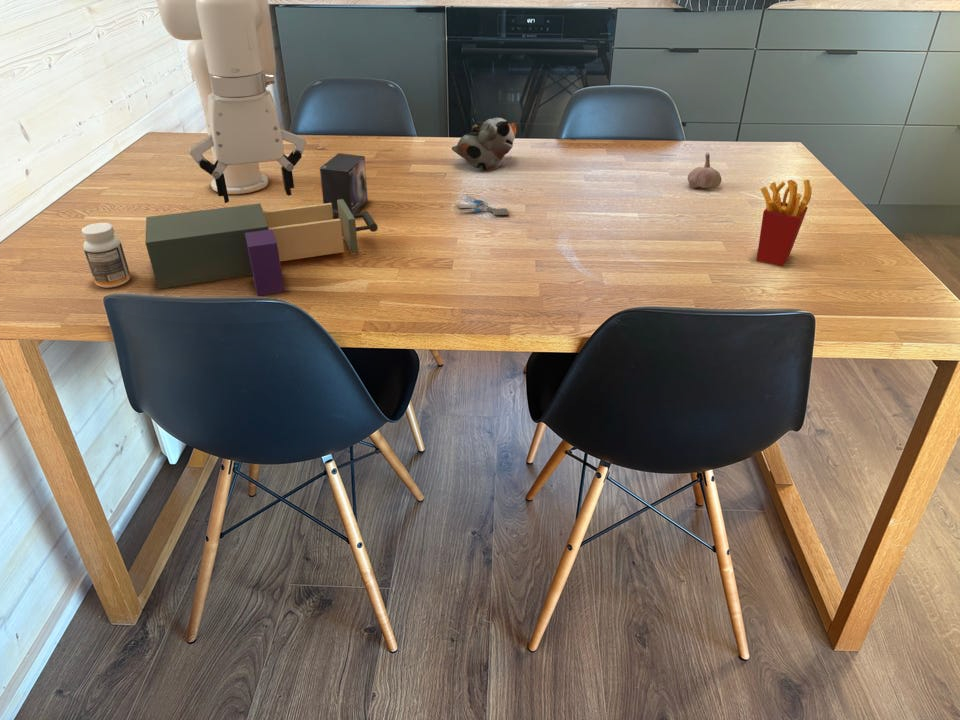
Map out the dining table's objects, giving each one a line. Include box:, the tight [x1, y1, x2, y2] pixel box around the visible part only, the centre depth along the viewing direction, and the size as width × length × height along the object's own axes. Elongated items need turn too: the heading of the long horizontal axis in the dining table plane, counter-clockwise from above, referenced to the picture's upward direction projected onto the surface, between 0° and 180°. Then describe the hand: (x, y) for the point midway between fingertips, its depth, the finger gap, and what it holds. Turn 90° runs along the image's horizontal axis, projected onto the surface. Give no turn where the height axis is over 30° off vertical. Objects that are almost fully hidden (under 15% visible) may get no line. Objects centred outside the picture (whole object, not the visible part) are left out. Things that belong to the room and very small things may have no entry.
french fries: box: [756, 179, 812, 268], centre depth 128 cm, size 9×8×15 cm
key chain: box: [458, 194, 510, 216], centre depth 149 cm, size 14×8×1 cm, turn 47°
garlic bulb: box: [687, 151, 723, 189], centre depth 161 cm, size 8×7×8 cm
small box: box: [319, 152, 369, 219], centre depth 147 cm, size 11×6×10 cm, turn 168°
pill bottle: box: [81, 222, 131, 288], centre depth 118 cm, size 6×6×10 cm
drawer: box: [263, 199, 379, 262], centre depth 129 cm, size 23×10×7 cm, turn 111°
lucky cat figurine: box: [451, 117, 517, 172], centre depth 172 cm, size 15×12×14 cm
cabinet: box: [144, 203, 269, 290], centre depth 124 cm, size 20×12×9 cm, turn 111°
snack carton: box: [245, 229, 286, 297], centre depth 118 cm, size 6×4×9 cm
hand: (257, 196), depth 112 cm, fingers open, 9 cm apart
